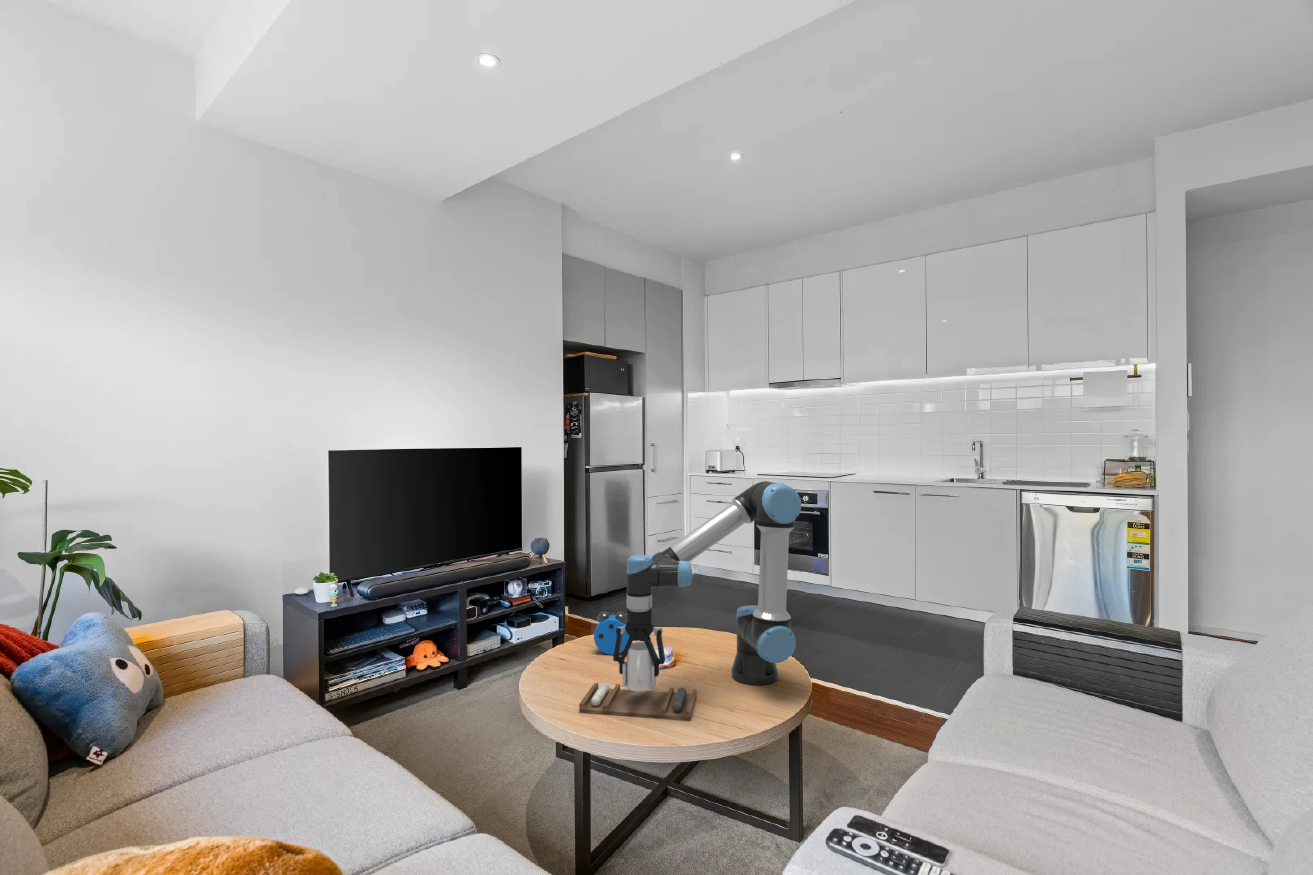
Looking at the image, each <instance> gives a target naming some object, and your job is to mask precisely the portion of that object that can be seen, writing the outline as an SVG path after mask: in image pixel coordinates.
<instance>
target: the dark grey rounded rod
mask: <svg viewBox="0 0 1313 875" xmlns="http://www.w3.org/2000/svg"><path fill="white" fill-rule="evenodd" d="M676 693H677V694H676V696H675V699H674V702H673V705H672V708H673V710H674V711H675V712H679V711H681V709H682V706H683V703H684V700H685V697H686V694H688V693H687V689H686V688H684V687H679V688H678V689H677V691H676Z"/></svg>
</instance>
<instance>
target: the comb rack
mask: <svg viewBox="0 0 1313 875" xmlns="http://www.w3.org/2000/svg"><path fill="white" fill-rule="evenodd" d="M598 689H599V682H594V683H593V684H592V686H590V688H589V690H588V691H587V693H585V696H583V698H582V700H581V701H580V703H579V704H578V706H579V707H578V709H579V712H578V713H582V714H593V715H607V716H618V717H619V716H621V717H634V718H635V717H636V718H648V719H649V718H650V719H658V720H659V719H662V720H671V721H672V720H673V721H674V720H675V721H687V722H688V721H689V722H691V719H692V716H693V712H694V708H695V705H696V701H697V697H698V696H697V690H698V689H696V688H692V690H691V693H686V697H685V700H684V703H683V706H682V709H681V711H679V712H675V711H674V710H673V708H672V705H673V702H674V699H675V696H676V694H677V692H675V688H674V687H669V689H668V691H652V690H649V691H644V692H636V691H631V690H629V689H622V688H621V684H620V683H619V684H618V683H616V684H615V686H614V687H613V688H610V687H609V690H608V692H607V694H606V695H605V697H604V698H603V700H602V701H601V703H600V704H599V705H598V706H594V705H592V703H591V699H592V697H593V696H594V695H595V693H596V692H597V690H598Z"/></svg>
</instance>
